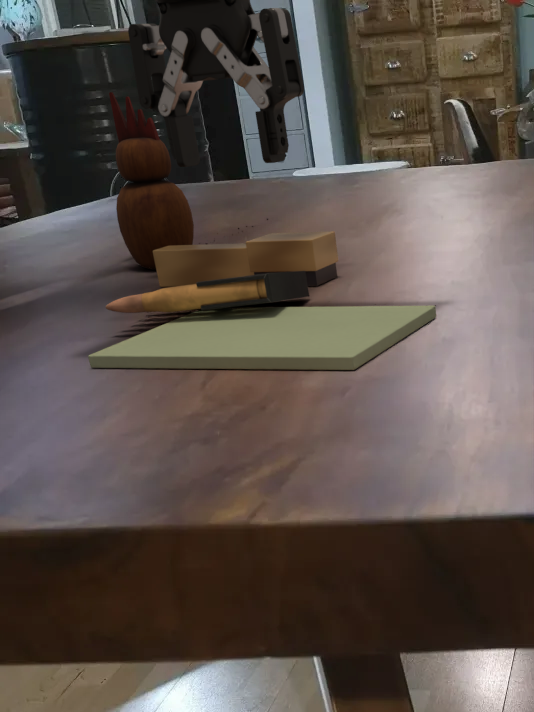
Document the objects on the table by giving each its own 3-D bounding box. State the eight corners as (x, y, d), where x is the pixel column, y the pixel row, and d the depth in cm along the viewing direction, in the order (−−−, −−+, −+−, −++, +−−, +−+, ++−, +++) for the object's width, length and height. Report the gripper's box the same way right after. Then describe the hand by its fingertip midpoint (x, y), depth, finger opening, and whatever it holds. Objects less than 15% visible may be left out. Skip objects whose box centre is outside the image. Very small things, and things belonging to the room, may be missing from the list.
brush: (153, 289, 94) (144, 244, 92) (181, 279, 97) (172, 236, 95) (318, 286, 89) (312, 239, 87) (340, 276, 93) (335, 231, 91)
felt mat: (90, 368, 69) (87, 355, 68) (205, 318, 80) (203, 307, 80) (354, 370, 63) (352, 356, 63) (436, 317, 75) (435, 305, 74)
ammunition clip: (267, 273, 73) (97, 293, 75) (272, 302, 74) (103, 322, 75) (305, 270, 83) (154, 288, 85) (309, 296, 84) (159, 313, 85)
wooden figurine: (117, 271, 104) (78, 94, 97) (164, 260, 108) (130, 90, 101) (164, 273, 101) (127, 90, 94) (211, 262, 105) (179, 86, 98)
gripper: (82, -65, 81) (132, 173, 89) (239, -91, 75) (278, 165, 83) (149, -60, 87) (190, 163, 95) (299, -84, 81) (330, 155, 89)
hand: (231, 164), depth 89 cm, fingers open, 8 cm apart
